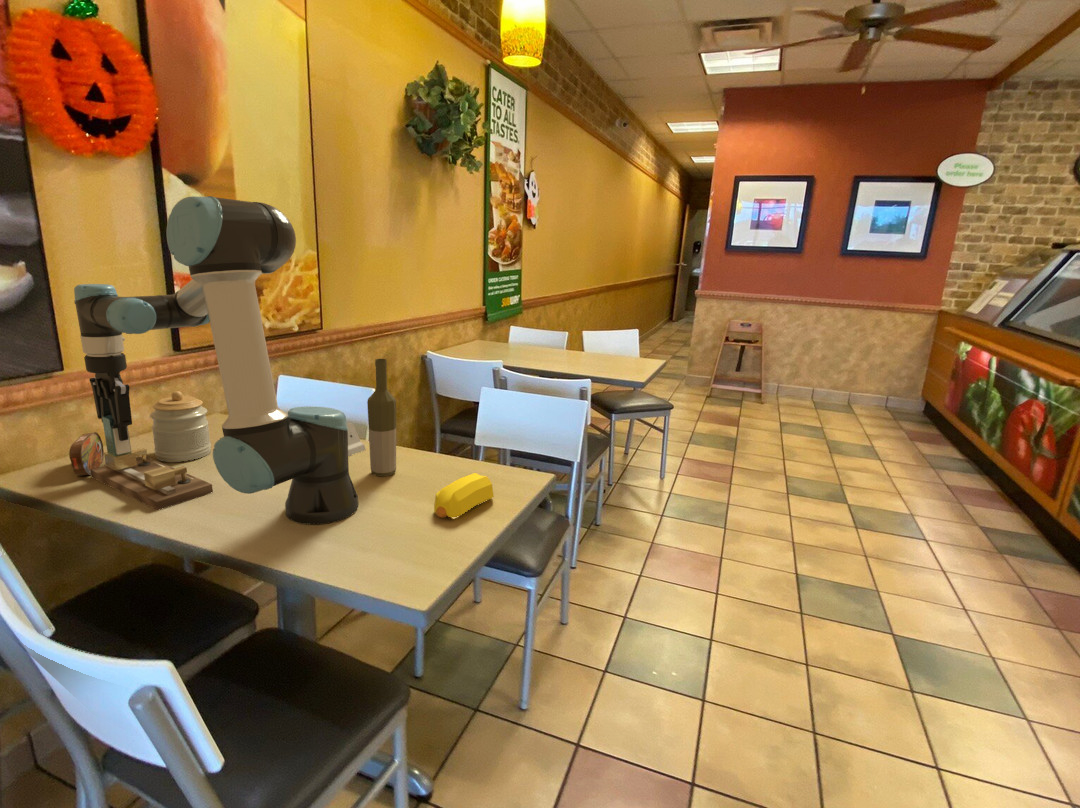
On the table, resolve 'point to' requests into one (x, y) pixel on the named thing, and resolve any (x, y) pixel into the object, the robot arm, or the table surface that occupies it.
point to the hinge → (354, 441)
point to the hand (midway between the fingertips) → (119, 450)
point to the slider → (111, 456)
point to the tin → (86, 453)
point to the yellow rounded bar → (462, 495)
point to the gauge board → (149, 492)
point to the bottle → (382, 425)
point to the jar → (180, 428)
